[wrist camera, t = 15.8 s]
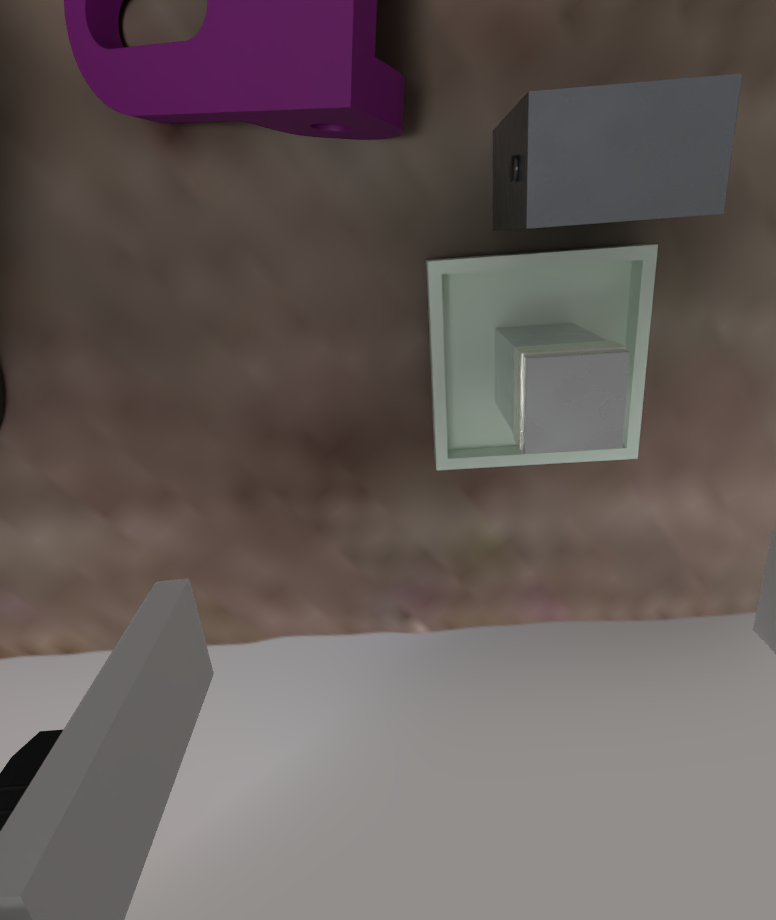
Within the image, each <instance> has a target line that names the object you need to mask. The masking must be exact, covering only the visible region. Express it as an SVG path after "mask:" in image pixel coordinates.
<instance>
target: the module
mask: <svg viewBox="0 0 776 920" xmlns="http://www.w3.org/2000/svg"><path fill="white" fill-rule="evenodd" d="M625 348H626V346H624V345H622V344H620V343H618V342H616V341H614V340H610V341H607V340H605V339H603V338H601V337H599V336H597V335H596V334H594V333H592V332H590V331H588V330H586V329H584V328H582V327H580V326H578V325H576V324H574V323H560V324H545V325H530V326H515V327H500V328H495V403H496V405H497V407H498V408H499V410H500V412H501V413H502V415H503V417H504V419H505V420H506V422H507V424H508V425H509V427H510V429H511V431H512V432H513V439H514V441H515V442H516V444H517V446H518V448H519V449H520V450H522V449H523V451H524V453H525V454H529V453H546V452H563V451H580V450H597V449H615V448H622V442H623V431H624V419H625V407H626V396H627V384H628V372H629V361H630V352H629V351H627V350H625Z"/></svg>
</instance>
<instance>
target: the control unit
mask: <svg viewBox="0 0 776 920" xmlns="http://www.w3.org/2000/svg"><path fill="white" fill-rule="evenodd" d="M741 80H742V73H740V74H728V75H716V76H705V77H693V78H681V79H669V80H657V81H646V82H634V83H622V84H610V85H598V86H587V87H575V88H563V89H551V90H539V91H529V92H528V93H527V94H526V95H525V96H524V97H523V98H522V99H521V101H520V102H519V103H518V104H517V105H516V106H515V107H514V108H513V109H512V110H511V111H510V113H509V114H508V115H507V116H506V117H505V118H504V119H503V120H502V121H501V122H500V124H499V125H498V126H497V127H496V128H495V129H494V130H493V230H511V229H530V228H543V227H556V226H569V225H583V224H596V223H609V222H623V221H636V220H649V219H663V218H676V217H689V216H702V215H716V214H724V208H725V201H726V193H727V186H728V178H729V170H730V163H731V155H732V148H733V140H734V133H735V125H736V118H737V110H738V102H739V95H740V87H741Z"/></svg>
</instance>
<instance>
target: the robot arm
mask: <svg viewBox="0 0 776 920" xmlns="http://www.w3.org/2000/svg"><path fill="white" fill-rule="evenodd" d="M3 408H4V387H3V380H2V375H1V371H0V423H1V419H2V415H3ZM753 630H754V631H755V632H756V633H757V634H758V635H759V636H760V638H761V639H762V640H763V641H764V642H765V643H766V644H767V645H768V646H769V647H770V648H771V649H772V650H773V651H774V653H775V654H776V529H773V530H772V534H771V539H770V544H769V549H768V555H767V560H766V565H765V570H764V575H763V581H762V586H761V591H760V596H759V602H758V607H757V612H756V617H755V623H754V628H753ZM212 677H213V670H212V665H211V662H210V658H209V654H208V650H207V646H206V642H205V638H204V634H203V630H202V627H201V623H200V619H199V615H198V611H197V607H196V603H195V599H194V595H193V592H192V588H191V584H190V580H189V579H180V580H168V581H156V582H155V583H154V585H153V587H152V588H151V590H150V592H149V593H148V595H147V596H146V598H145V600H144V601H143V603H142V604H141V606H140V608H139V609H138V611H137V612H136V614H135V616H134V617H133V619H132V620H131V622H130V624H129V625H128V627H127V629H126V630H125V632H124V633H123V635H122V637H121V638H120V640H119V641H118V643H117V645H116V646H115V648H114V649H113V651H112V653H111V654H110V656H109V657H108V659H107V661H106V662H105V664H104V666H103V667H102V669H101V670H100V672H99V674H98V675H97V677H96V678H95V680H94V682H93V683H92V685H91V687H90V688H89V690H88V691H87V693H86V695H85V696H84V698H83V699H82V701H81V703H80V704H79V706H78V707H77V709H76V711H75V712H74V714H73V715H72V717H71V719H70V720H69V722H68V723H67V725H66V727H65V728H64V730H53V731H41V732H39V733H38V734H37V735H36V736H34V737H33V738H32V739H31V740H30V741H29V742H28V743H27V744H26V745H25V746H24V747H22V748H21V749H20V750H19V751H18V752H17V753H16V754H15V755H13V756H12V758H11V759H10V760H9V762H8V763H7V764H6V766H5V767H4V769H3V770H2V772H1V773H0V920H124V919H125V916H126V913H127V910H128V908H129V905H130V902H131V900H132V897H133V894H134V891H135V889H136V886H137V883H138V880H139V877H140V875H141V872H142V869H143V867H144V864H145V861H146V858H147V856H148V853H149V850H150V847H151V845H152V842H153V839H154V836H155V833H156V831H157V828H158V825H159V822H160V820H161V817H162V814H163V812H164V809H165V806H166V803H167V800H168V798H169V795H170V792H171V789H172V787H173V784H174V781H175V779H176V776H177V773H178V770H179V768H180V765H181V762H182V759H183V757H184V754H185V751H186V748H187V746H188V743H189V740H190V737H191V735H192V732H193V729H194V726H195V724H196V721H197V718H198V715H199V713H200V710H201V707H202V704H203V702H204V699H205V696H206V693H207V691H208V688H209V685H210V682H211V680H212Z"/></svg>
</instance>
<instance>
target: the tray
mask: <svg viewBox="0 0 776 920" xmlns="http://www.w3.org/2000/svg"><path fill="white" fill-rule="evenodd" d="M657 250H658V244H633V245H620V246H606V247H592V248H579V249H565V250H552V251H538V252H524V253H511V254H497V255H484V256H470V257H457V258H443V259H429V260H426V276H427V299H428V321H429V344H430V367H431V390H432V413H433V436H434V458H435V464H436V470H452V469H469V468H486V467H503V466H520V465H537V464H554V463H571V462H588V461H605V460H622V459H638V449H639V439H640V428H641V418H642V407H643V397H644V386H645V376H646V366H647V355H648V345H649V334H650V324H651V313H652V303H653V292H654V282H655V271H656V261H657ZM560 323H574V324H576V325H578V326H580V327H582V328H584V329H586V330H588V331H590V332H592V333H594V334H596V335H597V336H599V337H601V338H603V339H605V340H607V341H610V340H614V341H616V342H618V343H620V344H622V345H624V346H626V348H625V350H627V351H629V352H630V361H629V372H628V384H627V396H626V407H625V419H624V431H623V442H622V448H615V449H597V450H580V451H563V452H546V453H529V454H525V453H524V451H523V449H522V450H520V449H519V448H518V446H517V444H516V442H515V441H514V439H513V432H512V431H511V429H510V427H509V425H508V424H507V422H506V420H505V419H504V417H503V415H502V413H501V412H500V410H499V408H498V407H497V405H496V403H495V328H500V327H515V326H530V325H545V324H560Z"/></svg>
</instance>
